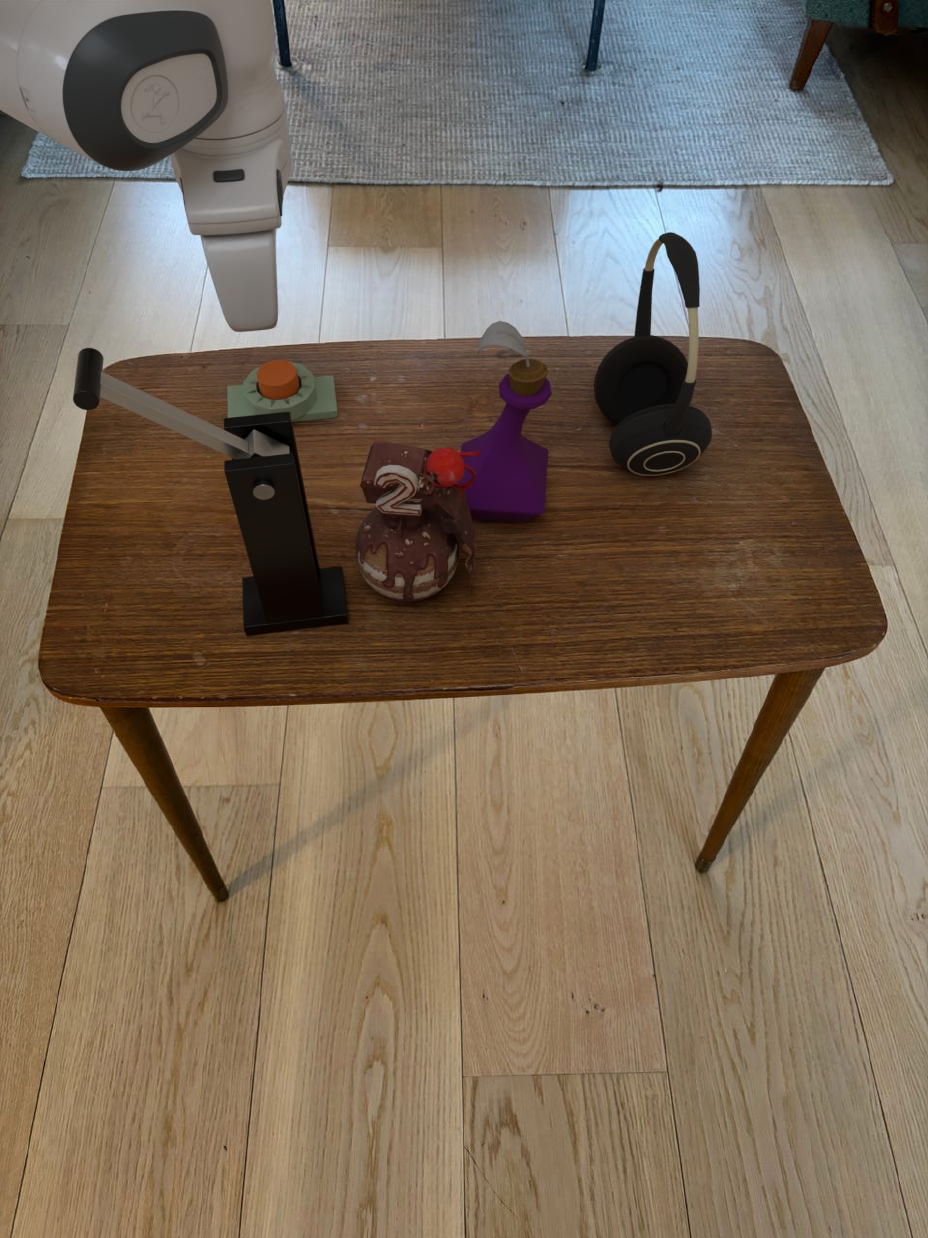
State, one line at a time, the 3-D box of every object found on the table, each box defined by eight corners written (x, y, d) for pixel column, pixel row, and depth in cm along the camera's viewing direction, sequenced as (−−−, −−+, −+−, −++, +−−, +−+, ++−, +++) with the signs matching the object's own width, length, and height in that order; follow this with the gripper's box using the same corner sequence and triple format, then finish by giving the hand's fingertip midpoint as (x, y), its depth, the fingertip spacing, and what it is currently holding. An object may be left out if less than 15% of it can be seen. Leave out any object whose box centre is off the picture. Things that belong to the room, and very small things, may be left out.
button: (260, 402, 89) (257, 387, 88) (259, 376, 92) (256, 361, 90) (300, 398, 90) (297, 383, 88) (298, 372, 92) (295, 357, 90)
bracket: (246, 641, 76) (195, 479, 62) (244, 581, 80) (196, 415, 66) (349, 628, 77) (322, 466, 63) (343, 569, 81) (316, 403, 66)
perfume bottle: (546, 475, 87) (562, 302, 72) (541, 540, 83) (557, 369, 68) (461, 470, 87) (460, 296, 73) (453, 533, 83) (449, 362, 68)
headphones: (671, 388, 94) (713, 190, 78) (711, 502, 85) (768, 305, 69) (582, 395, 93) (606, 197, 77) (613, 510, 84) (647, 314, 68)
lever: (64, 408, 57) (83, 381, 56) (70, 364, 60) (88, 337, 58) (271, 500, 66) (291, 479, 65) (269, 458, 68) (289, 436, 67)
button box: (229, 434, 90) (224, 414, 88) (228, 387, 94) (223, 366, 92) (339, 423, 91) (336, 402, 89) (333, 377, 95) (331, 356, 93)
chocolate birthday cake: (482, 549, 82) (484, 412, 70) (468, 628, 77) (469, 496, 65) (370, 537, 83) (353, 400, 71) (350, 615, 78) (329, 481, 66)
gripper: (188, 83, 78) (221, 240, 89) (185, 228, 66) (224, 389, 77) (268, 78, 79) (291, 235, 90) (279, 221, 67) (304, 381, 78)
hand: (260, 307), depth 84 cm, fingers closed
